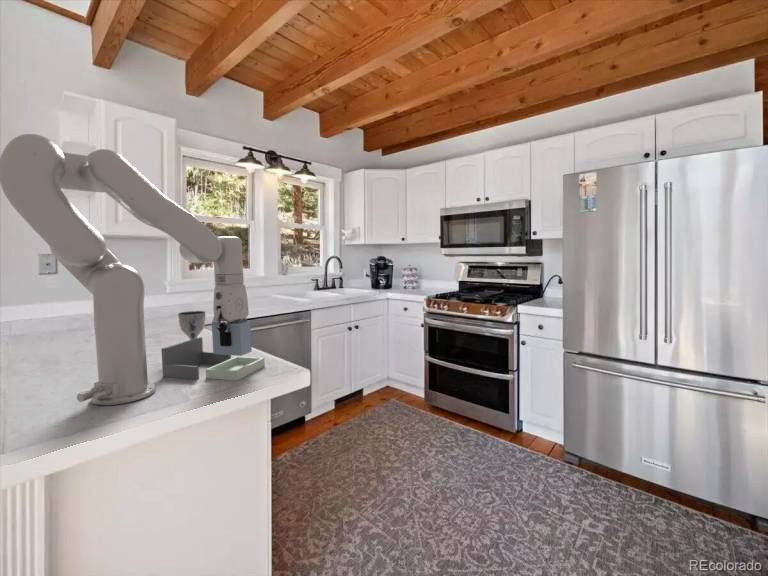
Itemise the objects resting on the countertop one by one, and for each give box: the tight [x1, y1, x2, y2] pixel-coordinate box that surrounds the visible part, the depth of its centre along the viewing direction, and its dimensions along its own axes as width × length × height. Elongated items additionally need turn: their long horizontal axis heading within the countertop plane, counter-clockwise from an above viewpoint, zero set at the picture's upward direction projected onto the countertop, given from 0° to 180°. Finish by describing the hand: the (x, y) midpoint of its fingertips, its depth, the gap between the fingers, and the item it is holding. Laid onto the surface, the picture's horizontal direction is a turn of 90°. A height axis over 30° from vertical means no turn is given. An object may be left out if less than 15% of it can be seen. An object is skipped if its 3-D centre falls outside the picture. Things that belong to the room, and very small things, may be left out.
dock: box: [161, 337, 232, 380], centre depth 107 cm, size 15×11×8 cm
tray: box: [205, 355, 266, 382], centre depth 106 cm, size 14×10×2 cm
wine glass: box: [177, 310, 206, 340], centre depth 121 cm, size 8×8×15 cm
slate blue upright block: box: [211, 318, 252, 357], centre depth 105 cm, size 5×9×10 cm, turn 77°
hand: (232, 342), depth 105 cm, fingers closed on slate blue upright block, 5 cm apart
